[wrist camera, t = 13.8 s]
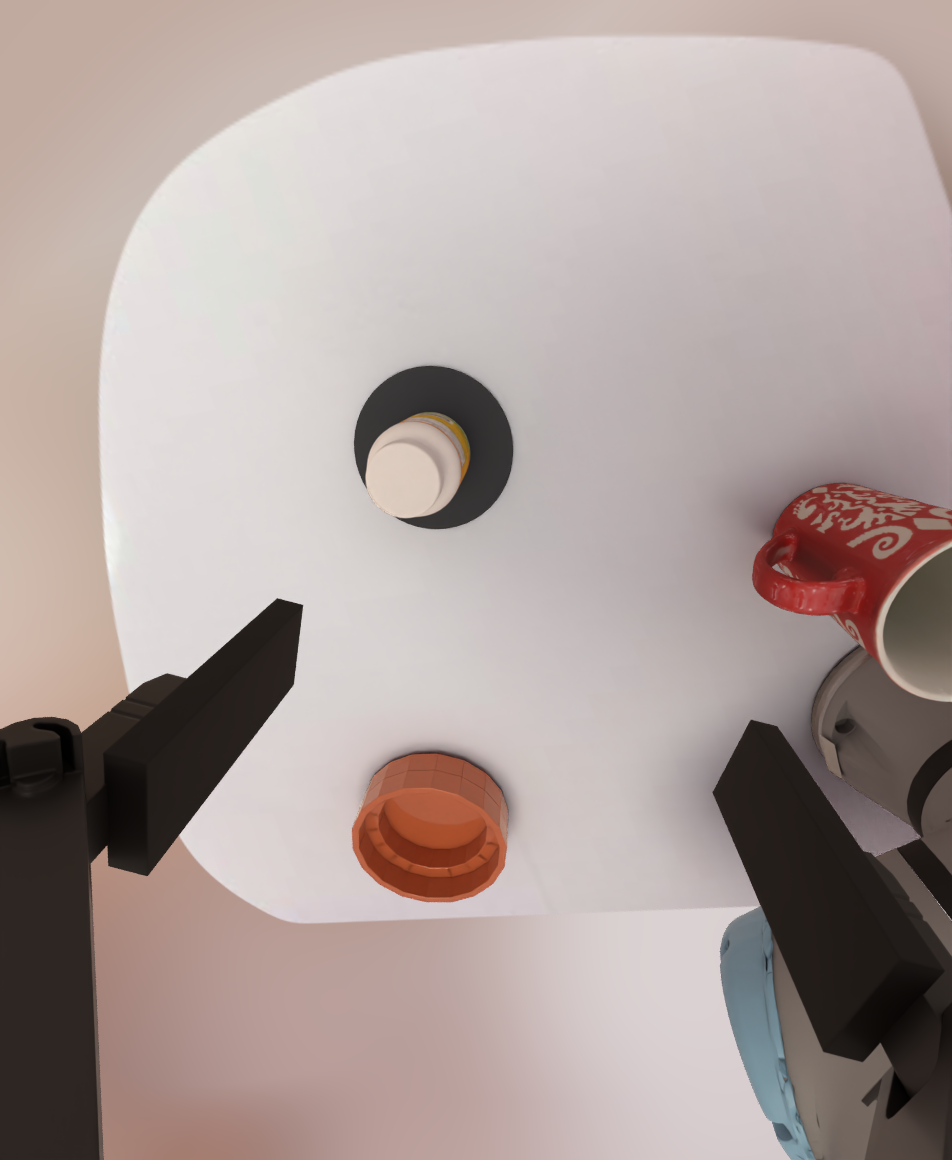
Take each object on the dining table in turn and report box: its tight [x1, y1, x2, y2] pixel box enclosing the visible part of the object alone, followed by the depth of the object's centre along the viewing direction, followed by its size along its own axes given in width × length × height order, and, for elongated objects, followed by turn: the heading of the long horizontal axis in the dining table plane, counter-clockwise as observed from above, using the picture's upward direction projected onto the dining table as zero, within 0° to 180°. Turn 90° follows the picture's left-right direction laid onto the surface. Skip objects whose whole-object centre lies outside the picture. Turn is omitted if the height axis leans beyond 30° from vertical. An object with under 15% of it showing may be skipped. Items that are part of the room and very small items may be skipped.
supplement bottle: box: [366, 412, 470, 518], centre depth 32 cm, size 5×5×10 cm
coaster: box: [354, 366, 513, 529], centre depth 37 cm, size 11×11×1 cm
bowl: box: [352, 754, 508, 902], centre depth 47 cm, size 13×13×4 cm
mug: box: [752, 483, 952, 702], centre depth 31 cm, size 13×9×14 cm
